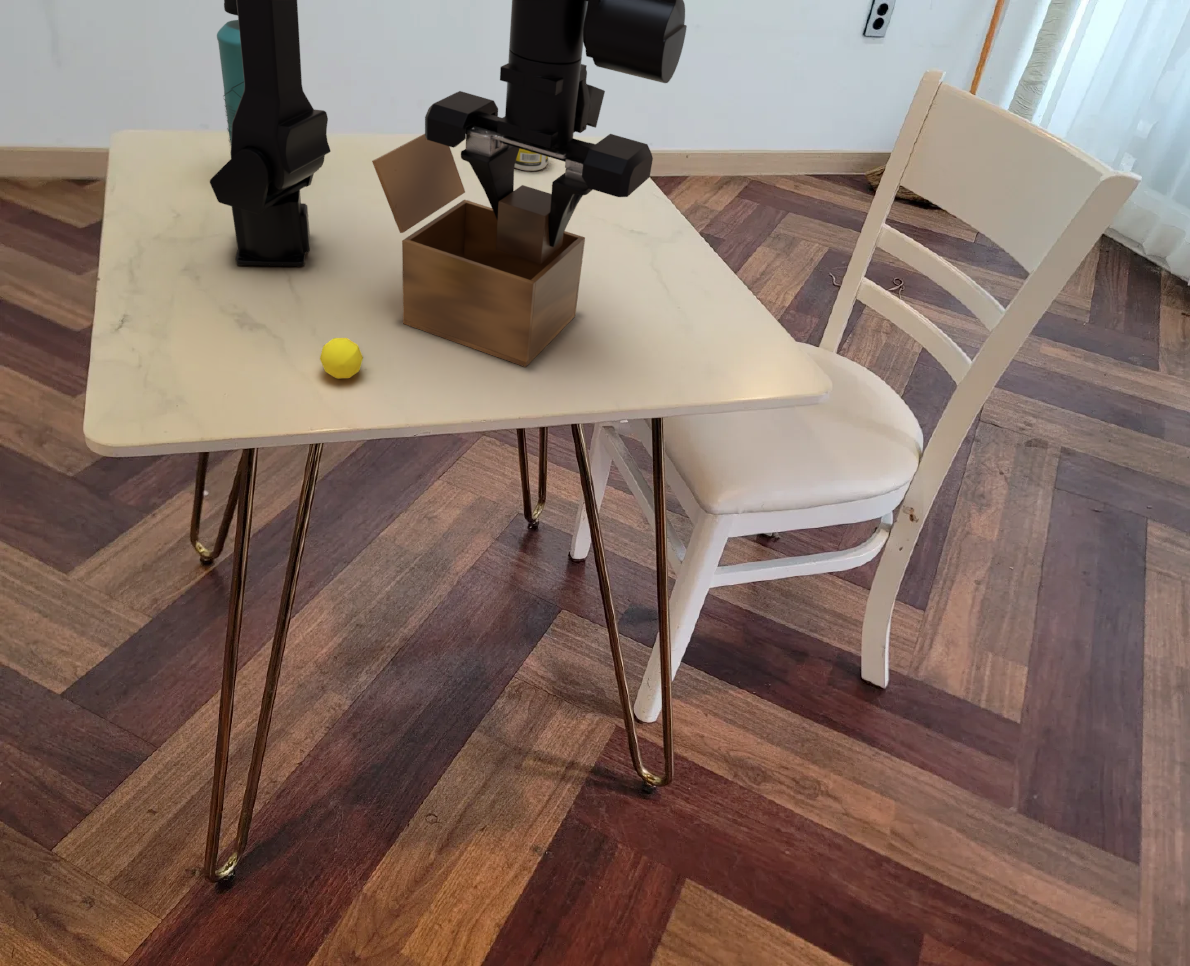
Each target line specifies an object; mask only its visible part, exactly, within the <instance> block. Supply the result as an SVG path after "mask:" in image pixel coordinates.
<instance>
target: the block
mask: <svg viewBox="0 0 1190 966" xmlns="http://www.w3.org/2000/svg"><path fill="white" fill-rule="evenodd" d="M551 194H552V193H550V192H546V191H543V190H540V189H537V188H533V187H530V186H527V185H524V184H521V185H520V186H519V187H517V188H515V190H513V192H512V193H510V194H509V195H507V196H506V197H505V198H503V199H502V200H500V201H499V203H498V220H497V238H496V250H499V251H502V252H505V253H508V254H511V255H514V256H517V257H520V258H524V259H527V260H530V261H533V262H536V263H539V264H541V263H542V262H544V261H545V260H546V259H547V258H548V257H549V256H551V255H552V254H553V253H554V252H555V251H556V250H557V249H559V248H560V247H561V246H562V242H563V235H562V237H561V239H560V241H559V243H558V244H557V245H556V246H555V247H551V246H550V242H549V222H550V208H551Z"/></svg>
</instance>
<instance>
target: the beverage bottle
mask: <svg viewBox="0 0 1190 966" xmlns="http://www.w3.org/2000/svg"><path fill="white" fill-rule="evenodd" d="M223 9H224V12H225V13H227V14H230V15H233V16H237V17H238V11H237V1H236V0H223ZM216 40H217V43H218V50H219V60H220V68H221V75H222V84H223V95H222V98H223V100H224V109H225V118H226V123H227V127H226V132H227V133H228V144H229V147H231V133H232V122H233V119H234V116H235V114H236V111H237V108H238V106H239V103H240V100H241V98H242V95H243V92H244V74H243V63H242V53H241V42H240V32H239V22H238V19H234V20H229V21H227V22H226V23H225V24H223V25H222V26H221V28H220V29H219V30H218V31H217V33H216ZM230 156H231V153H230Z"/></svg>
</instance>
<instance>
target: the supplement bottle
mask: <svg viewBox="0 0 1190 966" xmlns="http://www.w3.org/2000/svg"><path fill="white" fill-rule="evenodd" d="M548 161H549V157H547V156H544V155H541V154H537V153H534V152H530V151H527V150H524V149H519V152H518V155H517V158H516V162H515V166H514V169H518V170H522V171H530V172H531V171H532V172H535V171H540V170H542V169H544V168H545V167H547V165H548Z"/></svg>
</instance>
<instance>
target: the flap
mask: <svg viewBox="0 0 1190 966" xmlns="http://www.w3.org/2000/svg"><path fill="white" fill-rule="evenodd" d="M371 163H372V165H373V167H374V170H375V172H376V175H377V178H378V180H379V182H380V186H381V188H382V191H383V193H384V196H385V198H386V201H387V203H388V206H389V209H390V211H391V213H392V216H393V219H394V221H395V224H396V226H397V229H398V231H399V234H404V233H405V232H407V231H408V230H410V229H411V228H413V227H414V226H416V225H418V224H420V223H421V222H422V221H423V220H425V219H427V218H428V217H430V216H431V215H433V214H434V213H436V212H438V211H439V210H441V209H442V208H444V207H446V206H447V205H449V204H450V203H451V202H453V201H455V200H456V199H457V198H459V197H460V196H462V195H463V194H465V193H466V190H465V187H464V184H463V181H462V178H461V176H460V172H459V170H458V167H457V164H456V161H455V159H454V155H453V152H452V150H451V147H450V146H446V145H443V144H440V143H436V142H433V141H430V140H427V139H426V137H425V133H423V134H421V135H419V136H417V137H416V138H413V139H411V140H409V141H408V142H406V143H404V144H402V145H400V146H398V147H396V148H394V149H392V150H390V151H388V152H386V153H384V154H383V155H380V156H379V157H377V158H375V159H373V160H372V161H371Z"/></svg>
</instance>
